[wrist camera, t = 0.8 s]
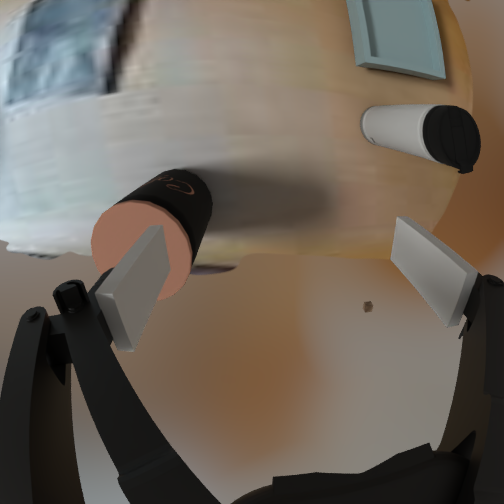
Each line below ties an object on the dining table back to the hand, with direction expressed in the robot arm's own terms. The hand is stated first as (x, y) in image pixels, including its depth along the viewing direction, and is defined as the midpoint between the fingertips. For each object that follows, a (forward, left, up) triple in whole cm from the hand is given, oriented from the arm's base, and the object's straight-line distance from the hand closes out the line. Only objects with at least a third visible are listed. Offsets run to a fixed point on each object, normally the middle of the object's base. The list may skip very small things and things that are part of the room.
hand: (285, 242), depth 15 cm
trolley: (-24, +21, -27) cm, 42 cm away
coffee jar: (+4, -13, -27) cm, 30 cm away
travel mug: (-6, +18, -27) cm, 33 cm away
